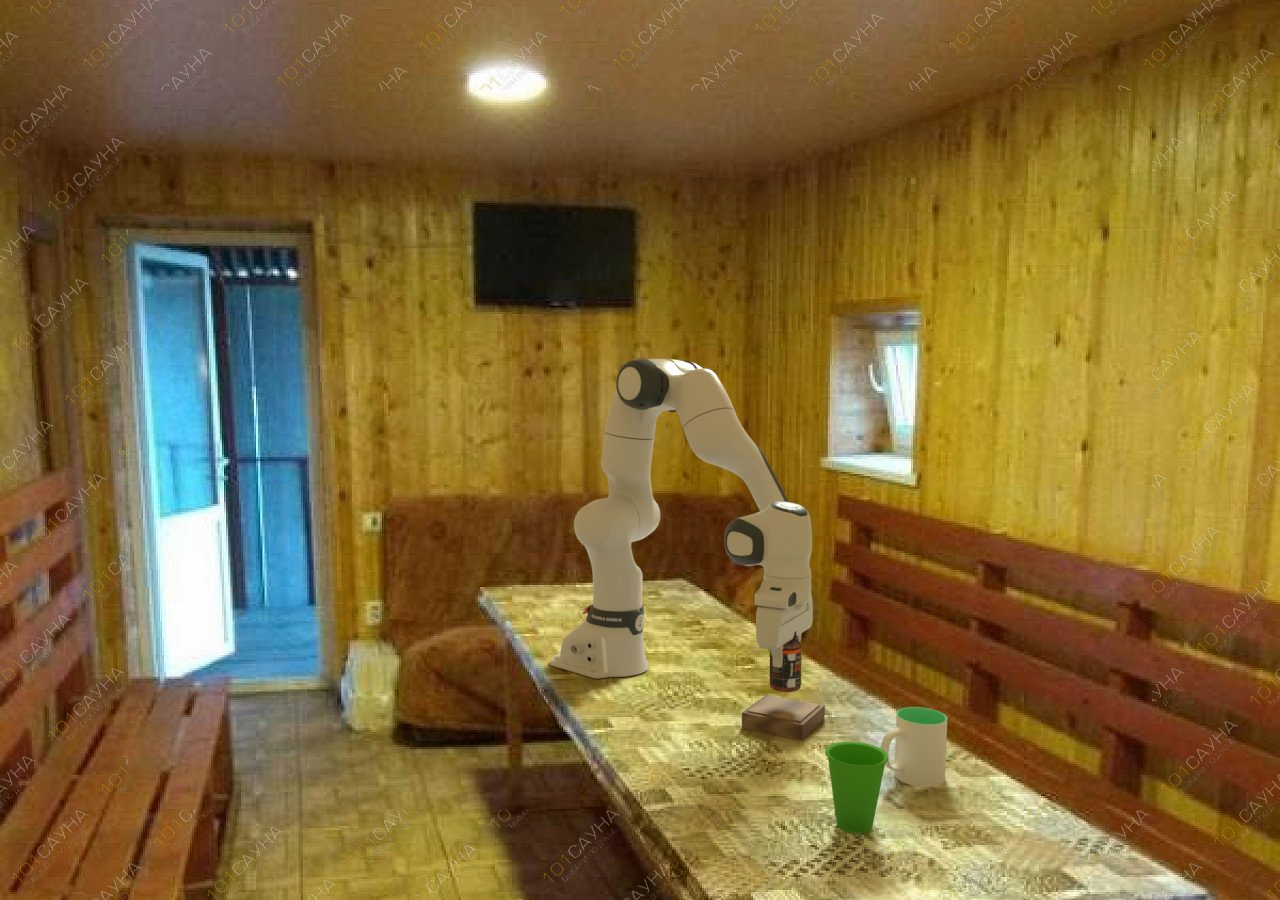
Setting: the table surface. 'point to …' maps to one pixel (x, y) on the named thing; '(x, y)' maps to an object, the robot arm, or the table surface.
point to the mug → (918, 746)
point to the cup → (855, 783)
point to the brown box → (783, 717)
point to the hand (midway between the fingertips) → (785, 661)
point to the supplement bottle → (787, 668)
